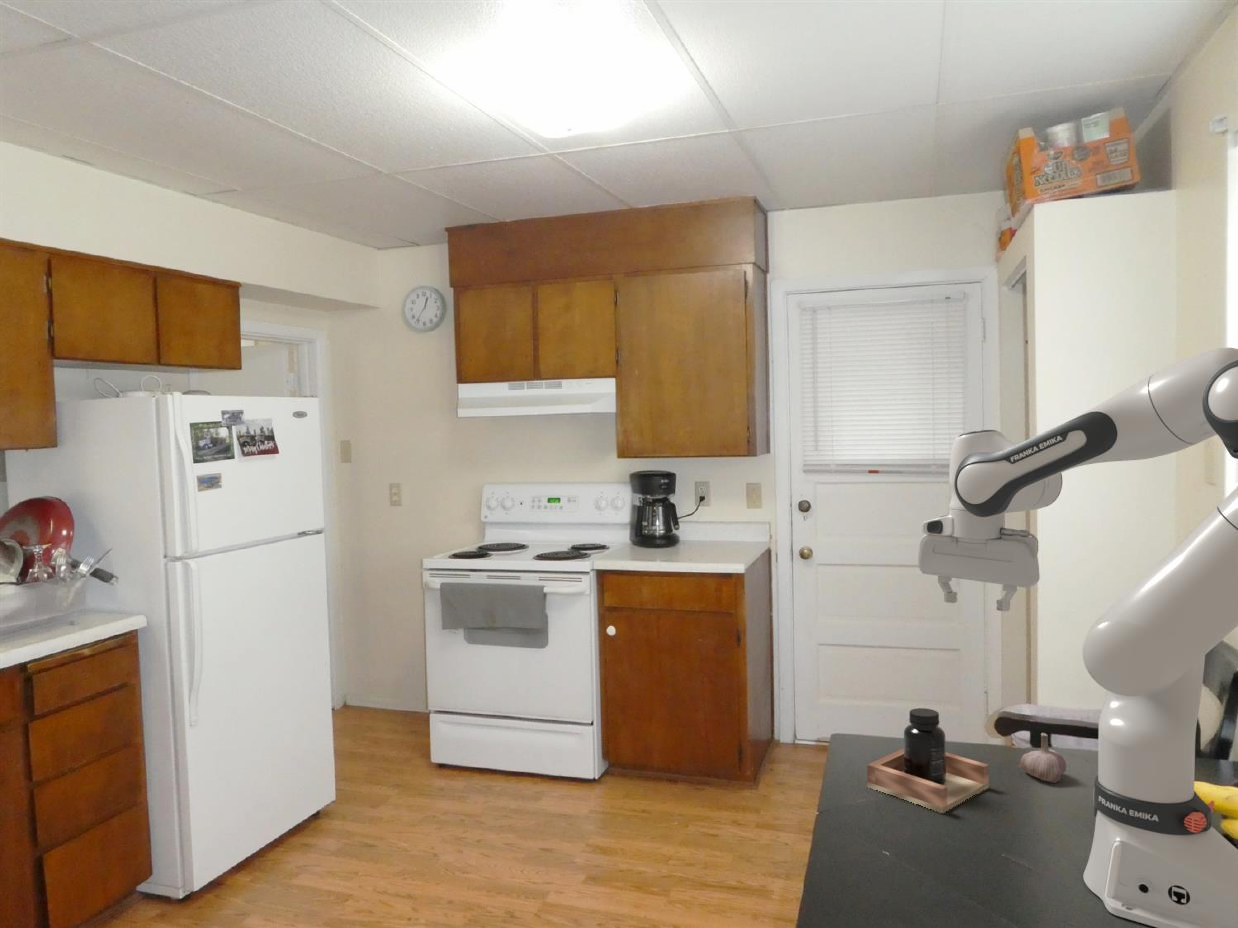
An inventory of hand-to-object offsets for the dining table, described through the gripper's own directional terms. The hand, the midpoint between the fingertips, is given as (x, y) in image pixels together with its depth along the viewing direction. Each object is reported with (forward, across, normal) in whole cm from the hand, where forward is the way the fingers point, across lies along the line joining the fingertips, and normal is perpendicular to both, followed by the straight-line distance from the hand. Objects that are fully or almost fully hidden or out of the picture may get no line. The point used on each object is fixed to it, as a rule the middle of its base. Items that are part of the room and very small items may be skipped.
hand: (976, 606), depth 153 cm
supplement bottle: (+30, +6, +7) cm, 32 cm away
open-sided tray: (+31, +5, +7) cm, 32 cm away
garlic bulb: (+31, -6, -12) cm, 34 cm away
